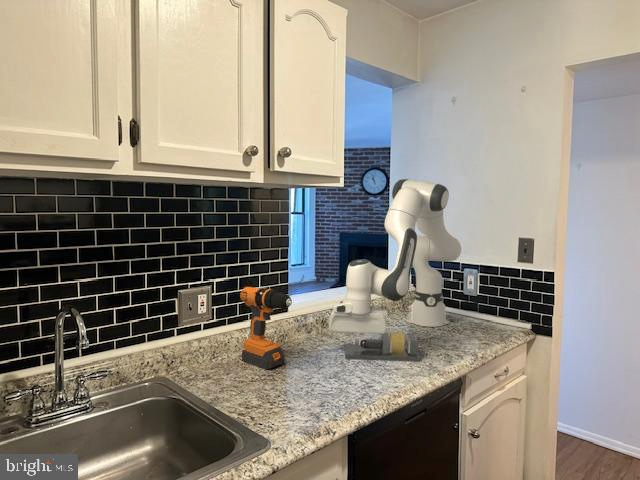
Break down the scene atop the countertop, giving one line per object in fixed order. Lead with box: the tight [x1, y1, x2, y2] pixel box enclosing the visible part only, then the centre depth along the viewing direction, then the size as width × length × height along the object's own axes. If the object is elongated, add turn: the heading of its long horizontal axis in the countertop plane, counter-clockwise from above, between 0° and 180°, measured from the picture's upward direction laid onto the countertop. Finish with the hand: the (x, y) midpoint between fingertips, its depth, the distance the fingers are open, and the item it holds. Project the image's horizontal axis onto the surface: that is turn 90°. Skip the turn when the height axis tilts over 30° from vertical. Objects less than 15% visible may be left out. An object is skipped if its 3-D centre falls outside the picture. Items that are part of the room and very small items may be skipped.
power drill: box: [239, 286, 293, 371], centre depth 142 cm, size 22×7×25 cm, turn 50°
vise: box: [344, 332, 421, 362], centre depth 155 cm, size 12×25×6 cm, turn 87°
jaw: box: [360, 331, 392, 355], centre depth 155 cm, size 9×10×5 cm
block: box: [389, 331, 405, 353], centre depth 154 cm, size 4×4×6 cm
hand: (356, 344), depth 156 cm, fingers closed
